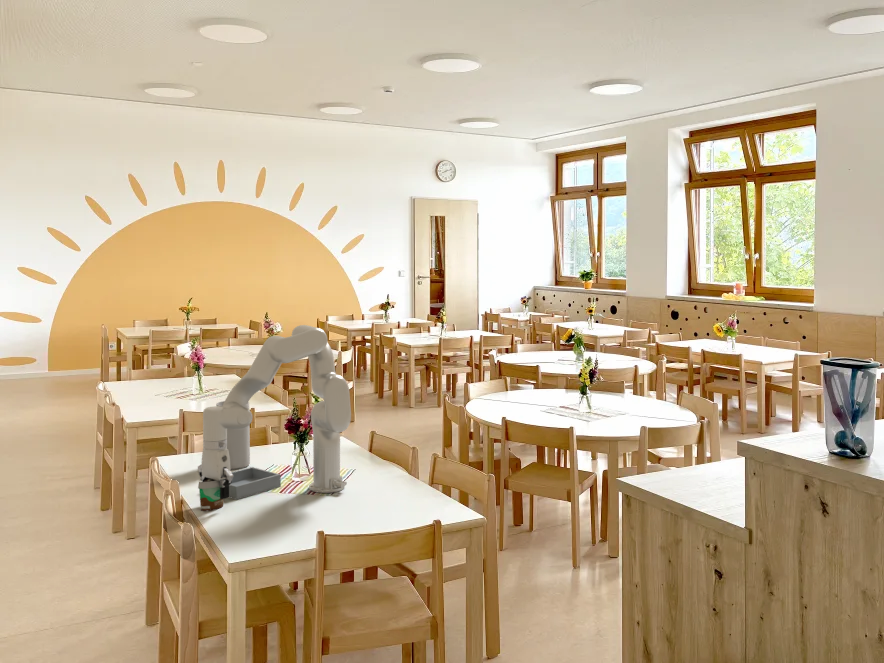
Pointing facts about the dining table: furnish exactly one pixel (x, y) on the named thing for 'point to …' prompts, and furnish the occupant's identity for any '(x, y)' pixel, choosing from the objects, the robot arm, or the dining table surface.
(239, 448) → the cylinder vase
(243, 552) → the dining table surface
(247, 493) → the bin
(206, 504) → the food container
